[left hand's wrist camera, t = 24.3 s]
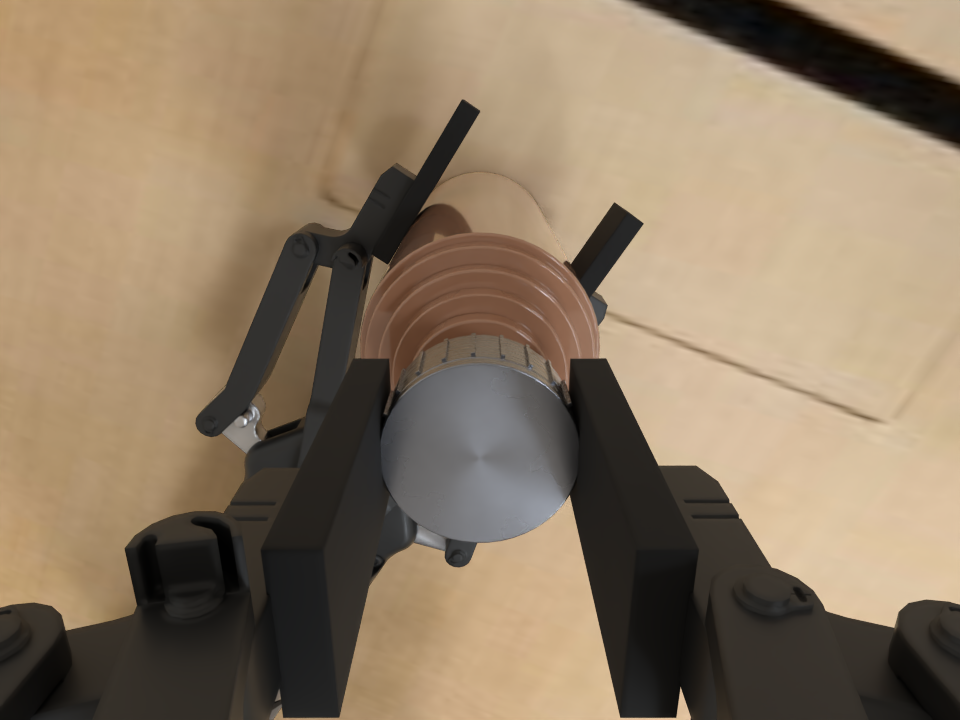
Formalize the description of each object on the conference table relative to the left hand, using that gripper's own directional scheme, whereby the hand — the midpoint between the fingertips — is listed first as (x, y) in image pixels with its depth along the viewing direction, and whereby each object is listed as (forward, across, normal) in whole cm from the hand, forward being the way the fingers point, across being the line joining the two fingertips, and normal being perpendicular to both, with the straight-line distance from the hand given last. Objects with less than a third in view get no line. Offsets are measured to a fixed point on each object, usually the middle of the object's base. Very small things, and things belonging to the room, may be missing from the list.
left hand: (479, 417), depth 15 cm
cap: (-1, 0, 0) cm, 1 cm away
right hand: (+14, -3, -4) cm, 15 cm away
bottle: (+20, 0, 0) cm, 20 cm away
